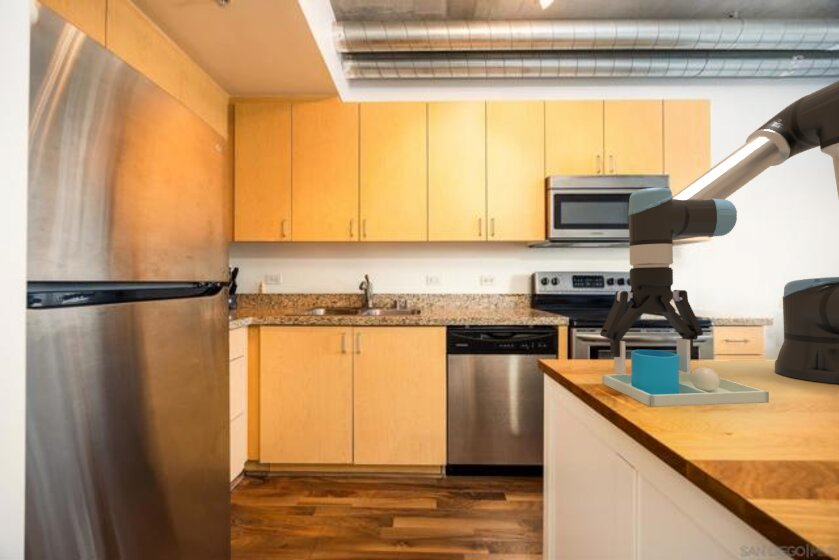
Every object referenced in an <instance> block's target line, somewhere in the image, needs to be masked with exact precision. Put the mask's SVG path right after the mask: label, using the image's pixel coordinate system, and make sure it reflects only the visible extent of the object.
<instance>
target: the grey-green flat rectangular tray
mask: <svg viewBox="0 0 839 560" xmlns="http://www.w3.org/2000/svg"><path fill="white" fill-rule="evenodd" d="M692 372H693V371H690V372H684V371H679V394H660V395H651V394H649V393H647V392H644V391H642V390H640V389H637V388H635V387H633V386H631V373H626V375H621V374H619V373H616V374H615V373H613V374H612V373H611V374H602V375H601V377H602V379H601V380H602V384H603V385H604V386H607V387H609V388H610V389H613V390H615V391H617V392H619V393H621V394H623V395H626V396H627V397H629V398H632V399H633V400H636V401H638V402H639V403H641V404H644V405H646V406H649V407H650V408H651V407H653V408H656V407H679V406H680V407H681V406H683V407H684V406H685V407H686V406H703V405H704V406H705V405H706V406H708V405H710V406H711V405H730V404H731V405H732V404H733V405H736V404H760V403H769V401H770V400H769V399H770V394H769V393H770V392H769V391H767V390H763V389H760V388H757V387H753V386H750V385H746V384H744V383H741V382H736V381H733V380H730V379H727V378H723V377H720V376H719V379H720V383H719V386H718V387H717V388H716V389H715V390H713V391H703V390H700V389H698V388H696V387H695V386H694V385H693V383H692V381H691V374H692Z"/></svg>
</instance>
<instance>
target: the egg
mask: <svg viewBox="0 0 839 560" xmlns="http://www.w3.org/2000/svg"><path fill="white" fill-rule="evenodd" d="M691 372H692V374H691V381H692V383H693V385H694V386H695V387H696V388H698V389H700V390H703V391H713V390H715V389H716V388H717V387H718V386H719V383H720V379H719V377H720V376H719V374H718V373H717V371H715V370H714V369H712V368H709V367H705V366H700V367H698V368H695V369H694V370H693V371H691Z"/></svg>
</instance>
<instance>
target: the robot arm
mask: <svg viewBox="0 0 839 560" xmlns="http://www.w3.org/2000/svg"><path fill="white" fill-rule="evenodd" d="M818 147H819V148H820V152H821V153H822V154H826V155H828V156H830V157H831V158H832V165H833V170H834V177H835V183H836V190H837V199H839V80H837V81H835V82H832V83H830V84H829V85H827V86H825V87H822V88H820V89H818V90H816V91H814V92H812V93H810V94H807V95H805V96H802V97H801V98H799V99H797V100H795V101H793V102H792V103H790V104H789V105H787V106H786V107H785V108H783V109H782V110H781V111H779V112H778V113H777V114H775V115H774V116H772V118H770V119H768V120H767V121H766V122H765V123H764V124H763V125H761V126H759V128H757V129H756V130H754V131H753V132H752V133H750V135H748V136H747V138H746V141H745V143H744V144H743V145H741V146H740V147H739V148H737V149H736V150H734V151H733V152H732V153H730V154H729V155H727V156H726V157H725V158H723V159H721V160H720V161H719V162H718V163H717V164H715V165H714V166H713V167H711V168H710V169H708V170H707V171H706V172H704V173H703V174H702V175H699V177H698V178H696V179H695V180H694V181H692V182H690V184H688V185H687V186H686V187H684V188H683V189H681V190H680V191H678V192H677V193H676V194H674V195H673V192H672V189H670V188H669V187H662V186H659V187H658V186H657V187H647V188H641V189H638V190H635V191H634V192H632V193H631V194H630V195H629V196H630V197H629V201H628V202H629V203H628V213H627V216H628V231H629V232H628V237H629V238H628V240H629V241H628V242H629V265H630V266H632V267H631V268H630V270H629V285H630V292H629V291H626V290H617V291H615V294H614V301H613V304H612V305H611V306H612V307H611V309H610V310H609V313H608V315H607V317H606V320H605V322H604V324H603V326H602V329H601V331H600V334H599V335H600V336H601V337H604V338H605V339H608V340H609V348H610V349H609V350H610V351H609V353H610V356H611V357H613V372H614V373H616V374H621V375H626V374H627V372H626V371H627V370H626V369H627V368H626V367H627V366H626V341H624V340H622V339H623V338H624V337H625V335H626V334H627V332H629V330H630V329H631V327H632V326H633V325H634V324H635V322H636V321H637V320H638V319H639V317H641V316H643V315H644V314H653V313H654V314H656V313H657V314H662V315H663V316H664V319H666V320H667V322H668V323H669V324H670V325H671V327H672V328H673V329H674V330H675V331H676V333H678V335H679V336H680V337H676V354H678V355H679V371H680V372H691V355H693V353H694V340H695V341H696V340H697V339H698V338H699V336H701V337H702V336H703V335H704V330H703V329H702V326H701V324H700V323H699V321H698V318H697V317H696V314H695V313H694V309H692V306H691V304H690V302H689V298H688V297H689V296H688V291H687V290H685V289H674V290H672V286H673V284H674V274H673V273H674V269H673V268H672V267H670V265H673V263H674V259H673V256H674V253H673V251H674V249H673V246H674V245H673V242H674V241H680V240H687V239H694V238H701V237H703V238H705V237H706V238H713V237H722V236H725V235H727V234H729V233H731V232H732V230H733V229H734V228H735V226H736V223H737V221H738V218H737V217H738V214H737V213H738V210H737V208H736V205H735V204H734V203H733V202H732V201H730V200H728V197H730V196H732V195H733V194H734V193H736V192H737V191H739V190H740V189H741V188H742V187H744V186H745V185H747V184H748V183H749V182H751V181H752V180H753V179H755V178H757V177H758V176H759V175H761V174H762V173H763V172H765V171H766V170H767V169H769V168H770V167H776V166H779V165H781V164H783V163H785V162H786V161H787V160H788V159H790V158H792V157H795V156H796V155H799V154H801V153H804V152H805V151H809V150H811V149H815V148H818ZM783 288H784V289H783V296H782V309H783V310H782V313H783V315H782V316H783V318H782V320H783V342H782V346H781V348H780V350H779V351H778V356H777V359H776V360H775V361H774V372H775V373H777V374H778V375H781V376H785V377H789V378H794V379H798V380H803V381H810V382H811V381H812V382H817V383H818V382H819V383H824V384H825V383H826V384H828V383H829V384H839V276H833V277H832V276H831V277H830V276H829V277H828V276H827V277H818V278H817V277H814V278H813V277H812V278H806V279H805V278H804V279H797V280H792V281H788V282H787V283H786V284H785V285H784V287H783ZM672 300H673V302H674V305H675V307H676V309H677V310H676V309H675V307H674V306H673V305H672V304H671V301H672ZM629 302H632V303H631V304H630V306H629V307H628V306H627V305H628V303H629ZM626 307H628V308H627V310H626ZM625 310H626V313H625ZM676 311H677V312H678V313H679V314H678V313H677V312H676ZM624 313H625V314H624Z"/></svg>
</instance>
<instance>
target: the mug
mask: <svg viewBox="0 0 839 560" xmlns="http://www.w3.org/2000/svg"><path fill="white" fill-rule="evenodd" d="M630 353H631V354H630V355H631V357H630V358H631V359H630V360H631V361H630V364H631V366H630V367H631V373H630V374H631V386H633V387H635V388H637V389H640V390H642V391H644V392H647V393H649V394H651V395H660V394H679V372H680V370H679V355H678V354H677V352H676V353H675V352H671V351H666V350H657V349H634V350H631V352H630Z"/></svg>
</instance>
